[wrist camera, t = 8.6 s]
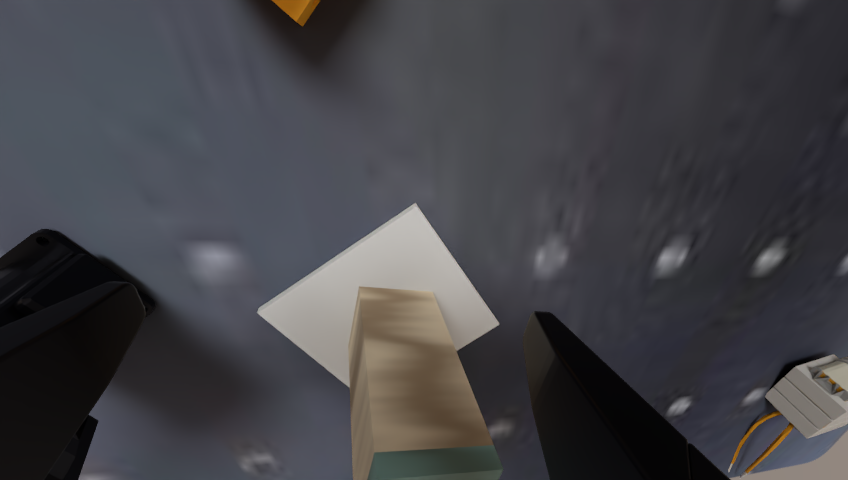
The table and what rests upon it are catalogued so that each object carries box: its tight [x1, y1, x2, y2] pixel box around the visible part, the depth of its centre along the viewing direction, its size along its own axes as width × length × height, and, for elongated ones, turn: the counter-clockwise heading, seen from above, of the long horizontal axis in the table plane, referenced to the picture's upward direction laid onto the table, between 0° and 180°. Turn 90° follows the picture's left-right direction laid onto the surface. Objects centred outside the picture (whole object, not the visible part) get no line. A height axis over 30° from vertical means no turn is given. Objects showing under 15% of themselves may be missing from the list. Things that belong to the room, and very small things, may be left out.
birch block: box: [348, 286, 503, 480], centre depth 19 cm, size 5×5×12 cm
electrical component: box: [728, 354, 848, 478], centre depth 44 cm, size 24×6×5 cm, turn 9°
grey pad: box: [257, 203, 499, 388], centre depth 25 cm, size 12×12×1 cm
